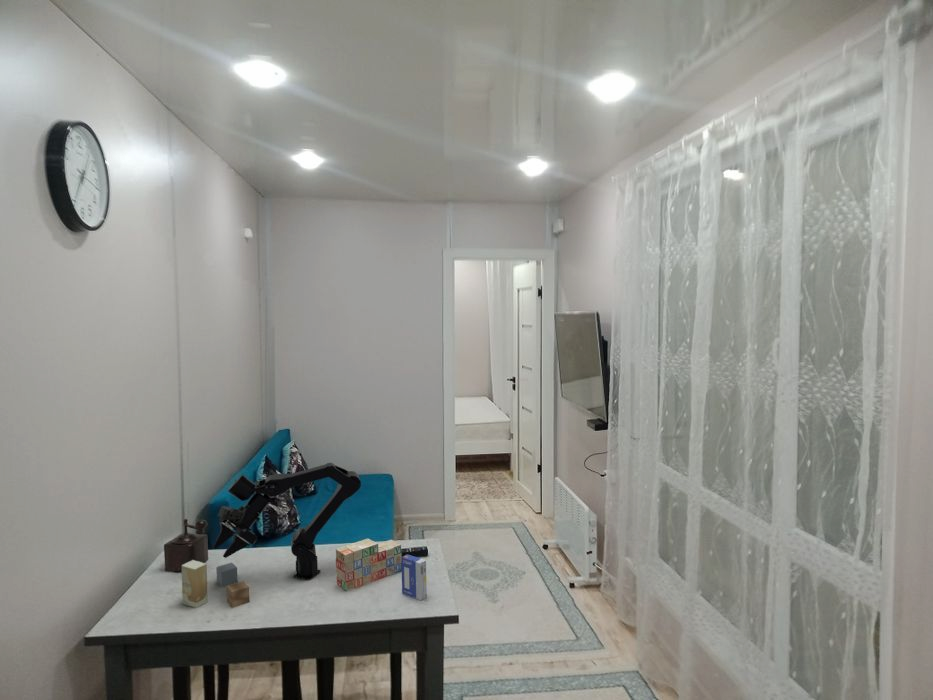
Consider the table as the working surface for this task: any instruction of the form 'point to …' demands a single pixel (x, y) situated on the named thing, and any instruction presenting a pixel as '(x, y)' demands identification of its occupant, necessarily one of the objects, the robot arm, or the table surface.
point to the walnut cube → (238, 594)
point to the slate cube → (227, 574)
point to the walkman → (414, 577)
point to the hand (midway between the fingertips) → (219, 552)
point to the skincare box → (194, 583)
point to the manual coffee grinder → (186, 547)
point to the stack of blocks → (366, 562)
